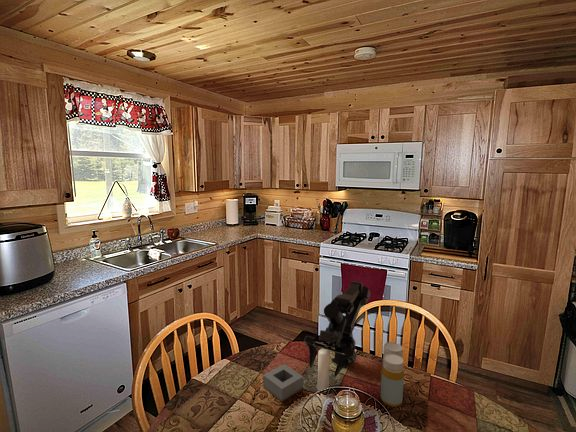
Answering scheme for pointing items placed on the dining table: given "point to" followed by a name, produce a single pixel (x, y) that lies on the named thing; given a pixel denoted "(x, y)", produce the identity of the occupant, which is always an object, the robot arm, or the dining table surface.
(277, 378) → the hole block
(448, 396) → the dining table surface
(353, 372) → the dining table surface
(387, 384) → the bottle
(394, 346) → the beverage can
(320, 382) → the peg
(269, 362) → the dining table surface
